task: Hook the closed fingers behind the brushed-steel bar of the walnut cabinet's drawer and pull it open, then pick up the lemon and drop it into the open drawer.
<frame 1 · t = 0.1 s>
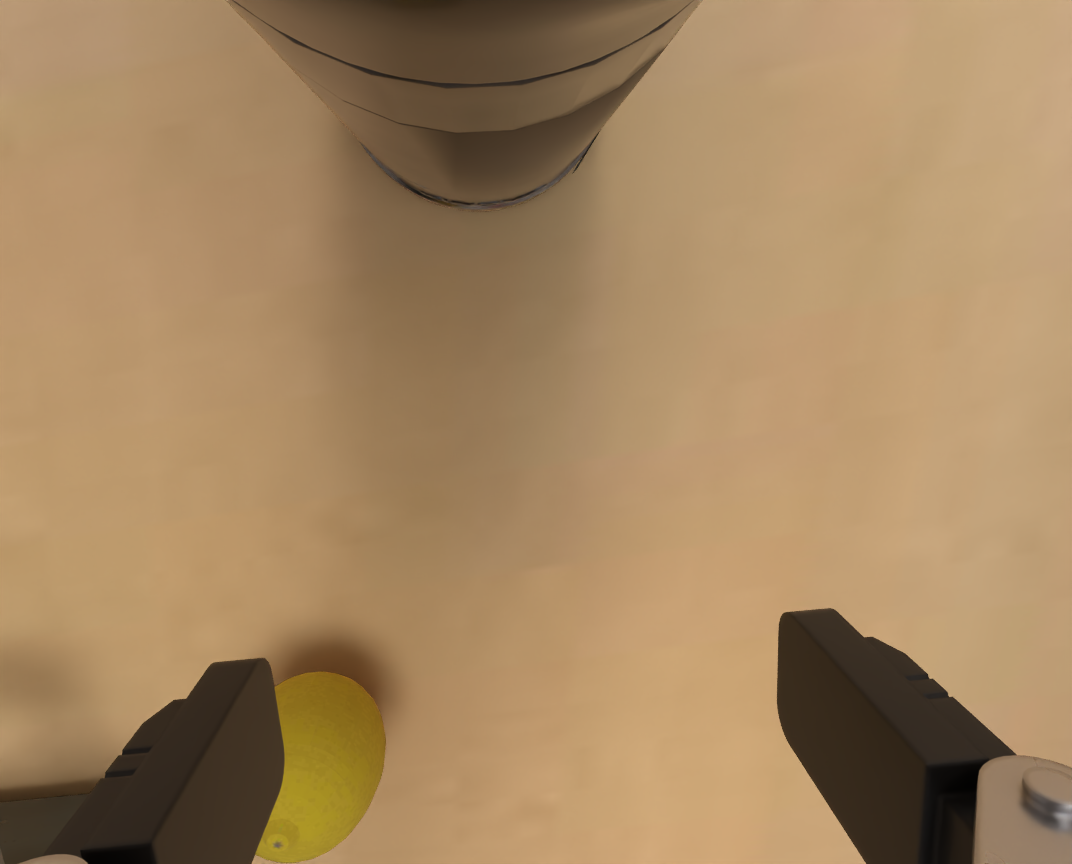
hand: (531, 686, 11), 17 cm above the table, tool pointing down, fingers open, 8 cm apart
lemon: (333, 691, 30), on the table
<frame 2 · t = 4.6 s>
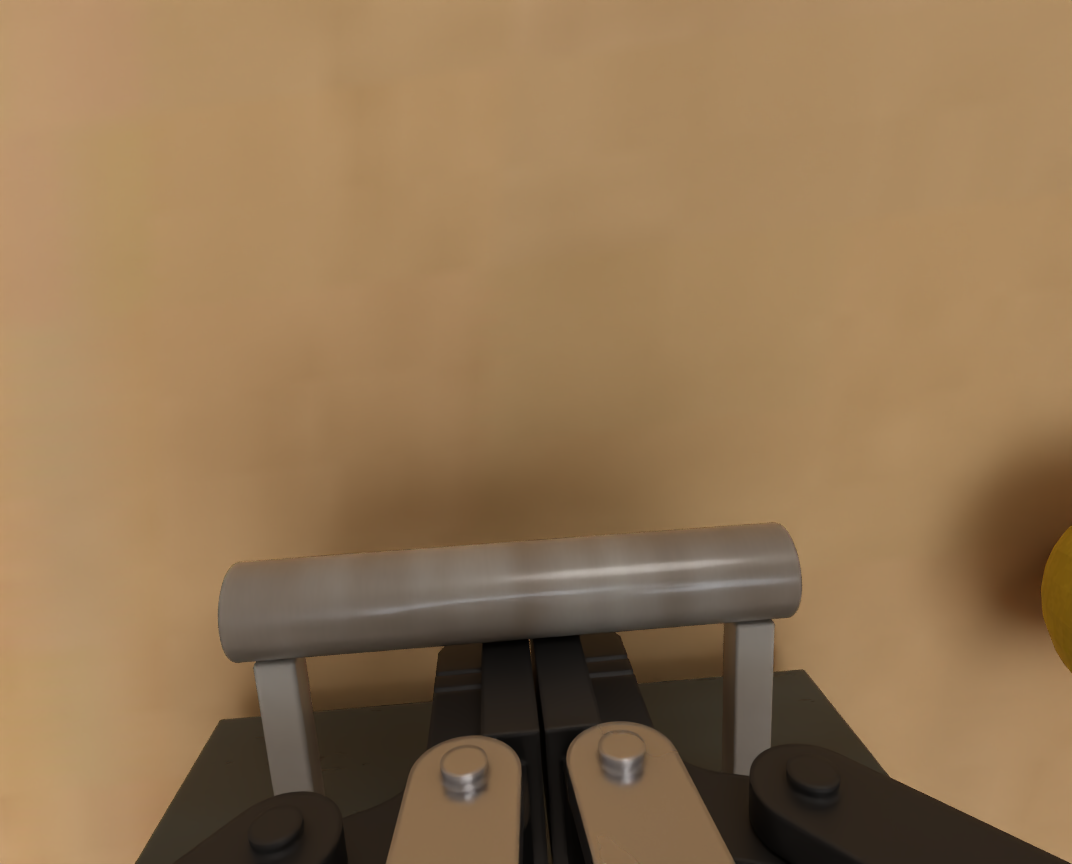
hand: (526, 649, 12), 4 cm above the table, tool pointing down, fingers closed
lemon: (1064, 547, 18), on the table
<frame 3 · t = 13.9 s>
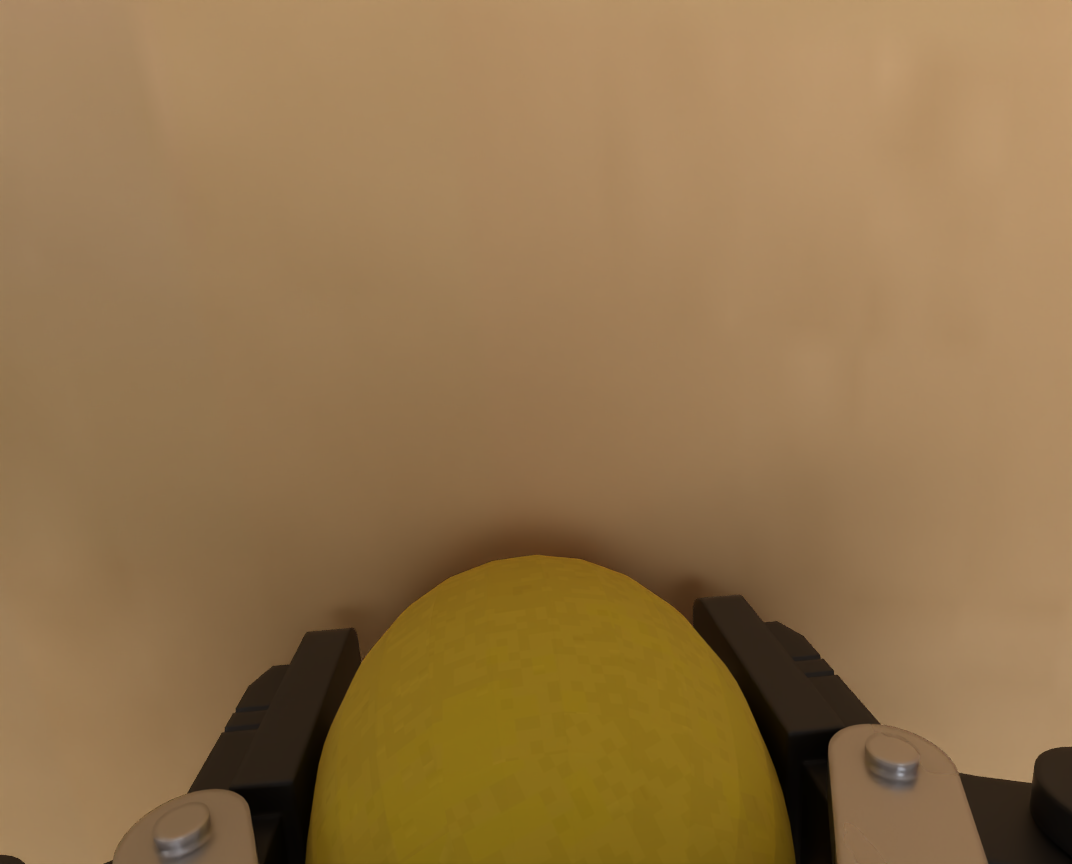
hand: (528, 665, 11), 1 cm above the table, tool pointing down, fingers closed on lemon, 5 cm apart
lemon: (525, 626, 13), on the table, touching gripper
when the fingers open (7 cm above the table, at t = 31.3 s): lemon stays where it is, resting on drawer.
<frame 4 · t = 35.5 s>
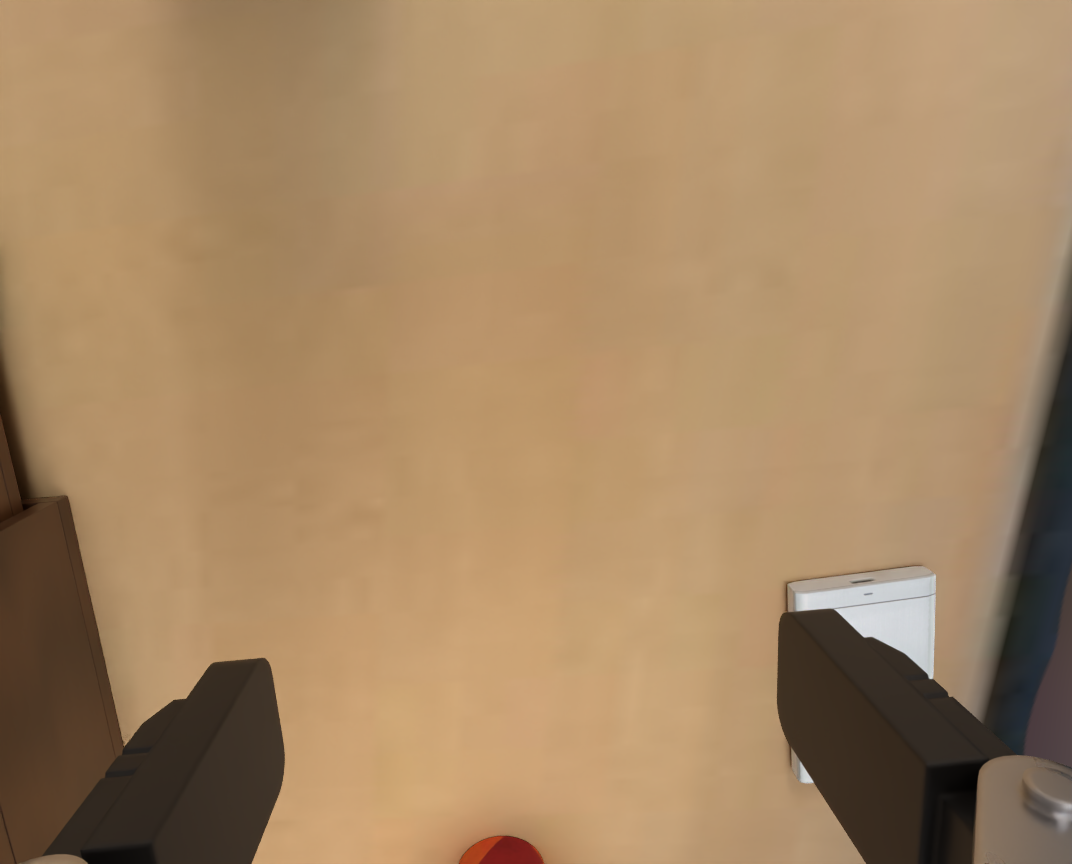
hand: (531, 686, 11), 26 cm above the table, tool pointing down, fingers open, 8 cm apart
hard drive: (852, 666, 42), on the table
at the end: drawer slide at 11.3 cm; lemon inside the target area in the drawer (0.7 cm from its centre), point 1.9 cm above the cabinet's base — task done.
